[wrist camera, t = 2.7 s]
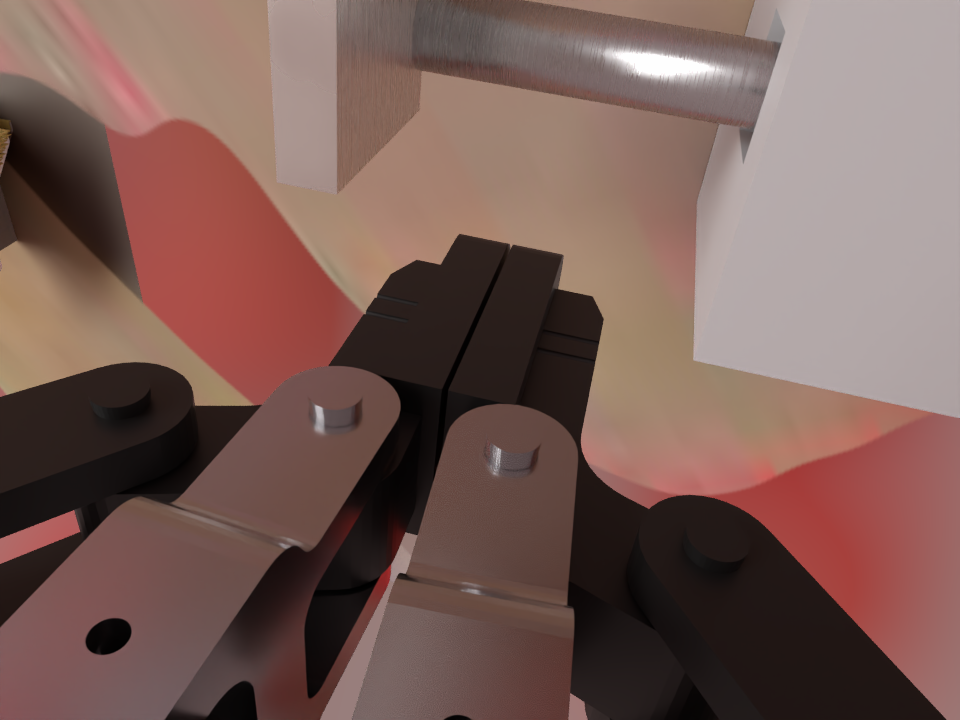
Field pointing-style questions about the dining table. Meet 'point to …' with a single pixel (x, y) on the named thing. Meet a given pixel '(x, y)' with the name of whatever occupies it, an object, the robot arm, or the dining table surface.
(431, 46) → the shaft
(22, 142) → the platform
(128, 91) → the dining table surface
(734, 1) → the dining table surface
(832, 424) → the dining table surface
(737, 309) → the block
